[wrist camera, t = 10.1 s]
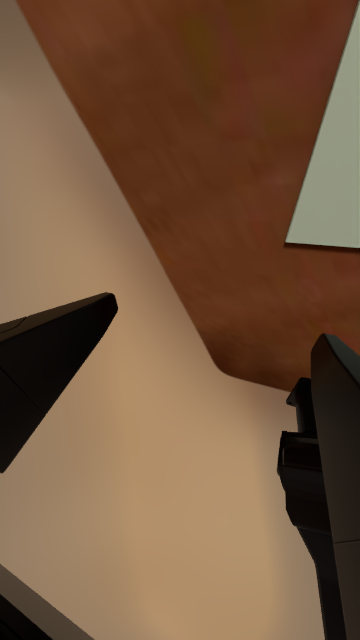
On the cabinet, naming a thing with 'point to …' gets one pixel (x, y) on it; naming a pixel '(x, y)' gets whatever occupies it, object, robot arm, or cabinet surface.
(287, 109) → the cabinet surface
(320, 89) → the cabinet surface
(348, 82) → the mat
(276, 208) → the cabinet surface
